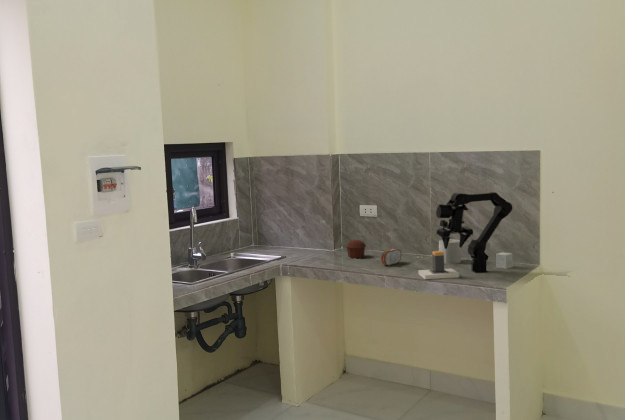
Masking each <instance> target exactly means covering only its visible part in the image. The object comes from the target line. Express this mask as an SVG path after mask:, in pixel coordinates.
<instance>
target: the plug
mask: <svg viewBox="0 0 625 420" xmlns="http://www.w3.org/2000/svg"><path fill="white" fill-rule="evenodd" d="M444 269H445V264H444V252H442V251H439V250H433V251H432V270H433V272H434V273H440V272H444Z"/></svg>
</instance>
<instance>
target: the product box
mask: <svg viewBox="0 0 625 420" xmlns="http://www.w3.org/2000/svg"><path fill="white" fill-rule="evenodd" d="M513 254H514V253H513V252H512V253H511V252H503V251H502V252H499V253H496V255H495V258H496V259H495V261H496V262H495V263H496V264H495V265H496V268H497V269H502V270H503V269H505V270H508V269H511V268H513V267H514V266H513V265H514V264H513V263H514V261H513V259H514V258H513V257H514V256H513Z"/></svg>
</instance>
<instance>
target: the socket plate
mask: <svg viewBox="0 0 625 420" xmlns="http://www.w3.org/2000/svg"><path fill="white" fill-rule="evenodd" d="M418 275H419V276H420V277H422V278H423V279H424V280H434V279H435V280H436V279H437V280H439V279H454V278H460V272H458V271H457V270H455V269H453V268H444V272H440V273H434V272H433V269H419V270H418Z"/></svg>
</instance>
